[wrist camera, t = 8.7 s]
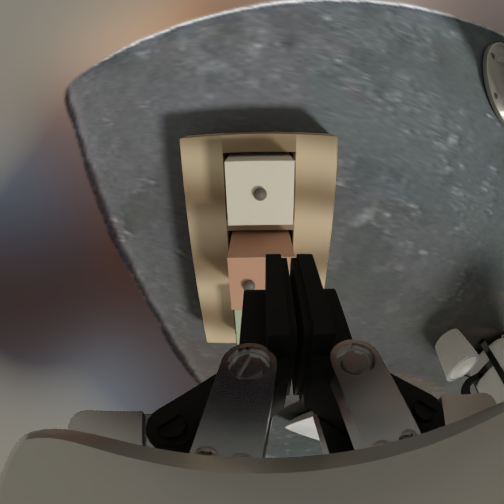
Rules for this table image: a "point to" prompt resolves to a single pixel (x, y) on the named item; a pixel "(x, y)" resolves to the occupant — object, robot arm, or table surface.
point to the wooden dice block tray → (219, 233)
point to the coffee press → (488, 371)
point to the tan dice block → (253, 260)
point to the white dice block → (260, 188)
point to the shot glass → (455, 354)
